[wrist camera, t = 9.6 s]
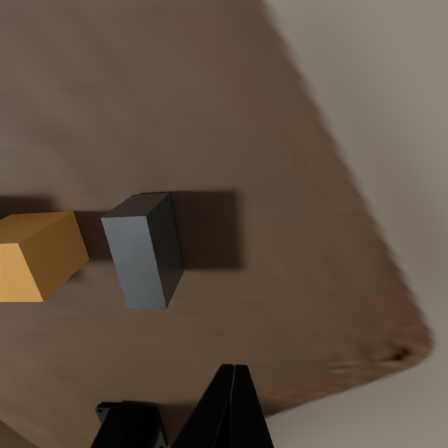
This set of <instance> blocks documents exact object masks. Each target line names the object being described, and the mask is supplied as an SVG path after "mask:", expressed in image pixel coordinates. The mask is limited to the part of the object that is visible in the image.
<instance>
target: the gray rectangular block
mask: <svg viewBox="0 0 448 448" xmlns="http://www.w3.org/2000/svg"><path fill="white" fill-rule="evenodd" d="M101 220H102V223H103V227H104V230H105V234H106V237H107V240H108V244H109V247H110V251H111V254H112V257H113V261H114V264H115V268H116V271H117V275H118V278H119V281H120V285H121V288H122V292H123V295H124V298H125V302H126V305H127V309H167V307H168V305H169V302H170V300H171V298H172V296H173V294H174V292H175V289H176V287H177V285H178V283H179V281H180V278H181V276H182V274H183V272H184V271H183V265H182V260H181V254H180V249H179V243H178V238H177V232H176V227H175V221H174V216H173V210H172V205H171V199H170V193H155V194H138V195H132V196H131V197H129V198H128V199H127V200H125V201H124V202H122V203H121V204H120V205H118V206H117V207H115V208H114V209H113V210H111V211H110V212H109V213H107V214H106V215H104V216H103V217H102V218H101Z"/></svg>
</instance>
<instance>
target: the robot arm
mask: <svg viewBox="0 0 448 448" xmlns="http://www.w3.org/2000/svg"><path fill="white" fill-rule="evenodd" d="M95 410H96V413H97V415H98V417H99V420H100V422H101V424H102V425H101V427H100V429H99V431H98V433H97V435H96V437H95V439H94V441H93V443H92V445H91V447H90V448H167V446H168V443H167V440H166V437H165V433H164V430H163V426H162V423H161V419H160V416H159V413H158V410H157V409H156V408H154V407H145V406H129V405H114V404H98V405H97V407H96V409H95ZM170 448H274V446H273V443H272V440H271V437H270V434H269V431H268V428H267V425H266V421H265V418H264V415H263V412H262V409H261V406H260V403H259V400H258V397H257V393H256V390H255V387H254V384H253V381H252V378H251V375H250V372H249V369H248V366H247V365H239V364H237V365H235V366H234V365H233V364H222V365H221V366H220V367H219V369H218V370H217V372H216V374H215V375H214V377H213V379H212V380H211V382H210V383H209V385H208V387H207V388H206V390H205V392H204V393H203V395H202V396H201V398H200V400H199V401H198V403H197V405H196V406H195V408H194V409H193V411H192V413H191V414H190V416H189V418H188V419H187V421H186V422H185V424H184V426H183V427H182V429H181V431H180V432H179V434H178V435H177V437H176V439H175V440H174V442H173V443H172V445H171V447H170Z"/></svg>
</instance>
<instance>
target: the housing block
mask: <svg viewBox="0 0 448 448" xmlns="http://www.w3.org/2000/svg"><path fill="white" fill-rule="evenodd" d="M89 260H90V259H89V257H88V254H87V251H86V248H85V245H84V242H83V239H82V236H81V233H80V230H79V227H78V224H77V221H76V218H75V215H74V212H73V211H64V212H46V213H28V214H12V215H10V216H7V217H5V218H3V219H1V220H0V302H44V301H45V300H46V299H47V298H48V297H49V296H51V295H52V294H53V293H54V292H55V291H56V290H57V289H58V288H59V287H60V286H61V285H62V284H64V283H65V282H66V281H67V280H68V279H69V278H70V277H71V276H72V275H73V274H74V273H76V272H77V271H78V270H79V269H80V268H81V267H82V266H83V265H84V264H85V263H86V262H87V261H89Z"/></svg>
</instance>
